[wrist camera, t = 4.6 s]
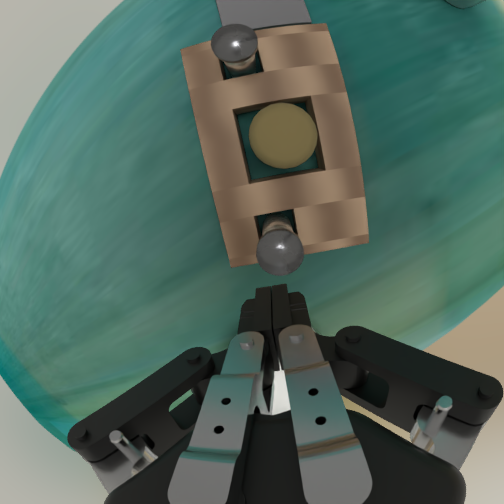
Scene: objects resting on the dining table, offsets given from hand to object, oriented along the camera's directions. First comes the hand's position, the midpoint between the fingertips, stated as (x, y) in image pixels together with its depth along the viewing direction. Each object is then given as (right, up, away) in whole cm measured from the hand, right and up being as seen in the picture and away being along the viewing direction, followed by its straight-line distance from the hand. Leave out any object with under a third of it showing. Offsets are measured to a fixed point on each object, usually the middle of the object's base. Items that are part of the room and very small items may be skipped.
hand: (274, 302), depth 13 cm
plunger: (-2, +22, +11) cm, 25 cm away
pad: (0, +32, +8) cm, 33 cm away
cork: (+2, +15, +15) cm, 21 cm away
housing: (+2, +15, +15) cm, 21 cm away
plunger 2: (+2, +5, +16) cm, 17 cm away
